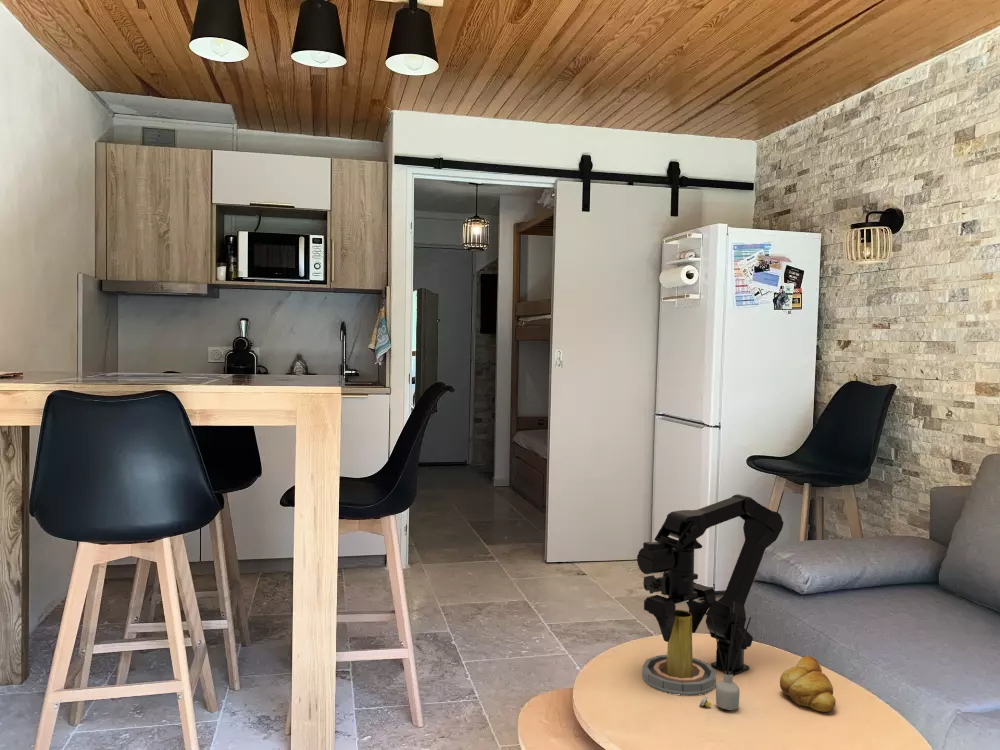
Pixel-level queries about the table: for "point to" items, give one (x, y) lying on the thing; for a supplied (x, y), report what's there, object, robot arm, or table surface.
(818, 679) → the bread roll
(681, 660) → the vase
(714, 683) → the grooved tray
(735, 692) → the reed diffuser
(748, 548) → the robot arm
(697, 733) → the table surface
